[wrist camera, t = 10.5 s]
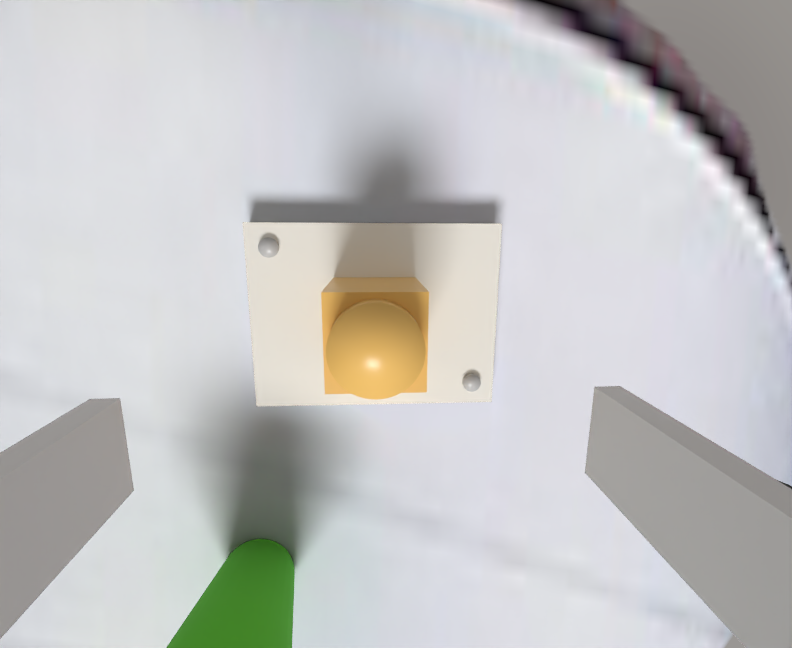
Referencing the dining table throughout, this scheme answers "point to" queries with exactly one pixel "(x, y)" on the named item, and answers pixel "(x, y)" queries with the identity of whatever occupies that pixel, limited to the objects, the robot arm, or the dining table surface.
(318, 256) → the lid
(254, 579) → the cup
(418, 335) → the ball on cube
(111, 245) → the dining table surface
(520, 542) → the dining table surface
